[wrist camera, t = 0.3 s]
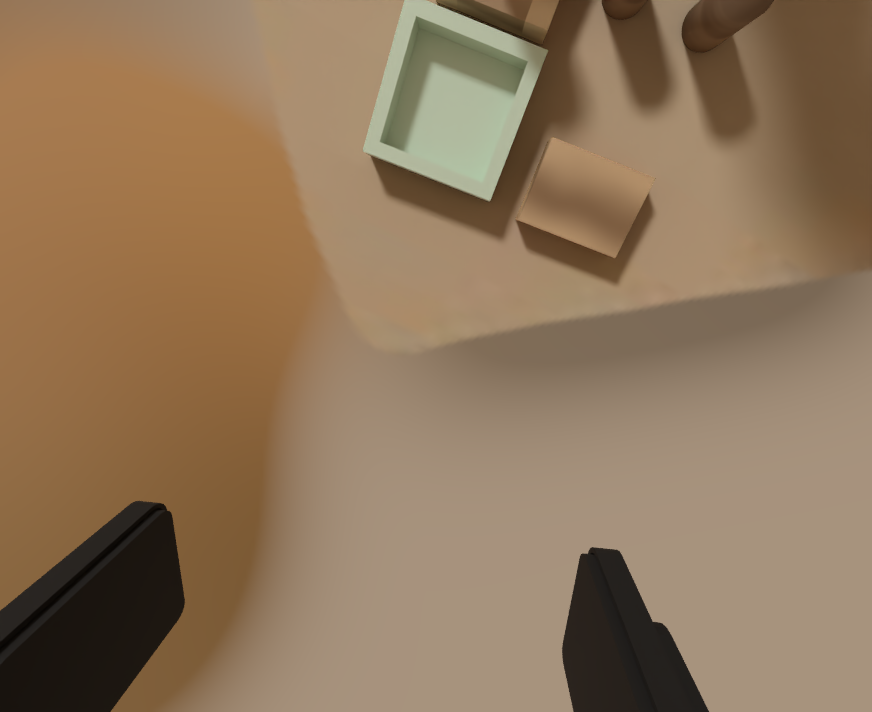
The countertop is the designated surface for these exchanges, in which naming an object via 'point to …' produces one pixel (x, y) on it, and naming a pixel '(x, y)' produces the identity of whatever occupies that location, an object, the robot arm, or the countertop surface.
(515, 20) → the socket block
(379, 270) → the countertop surface
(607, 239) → the tan cardboard carton
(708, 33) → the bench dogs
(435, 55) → the tray
